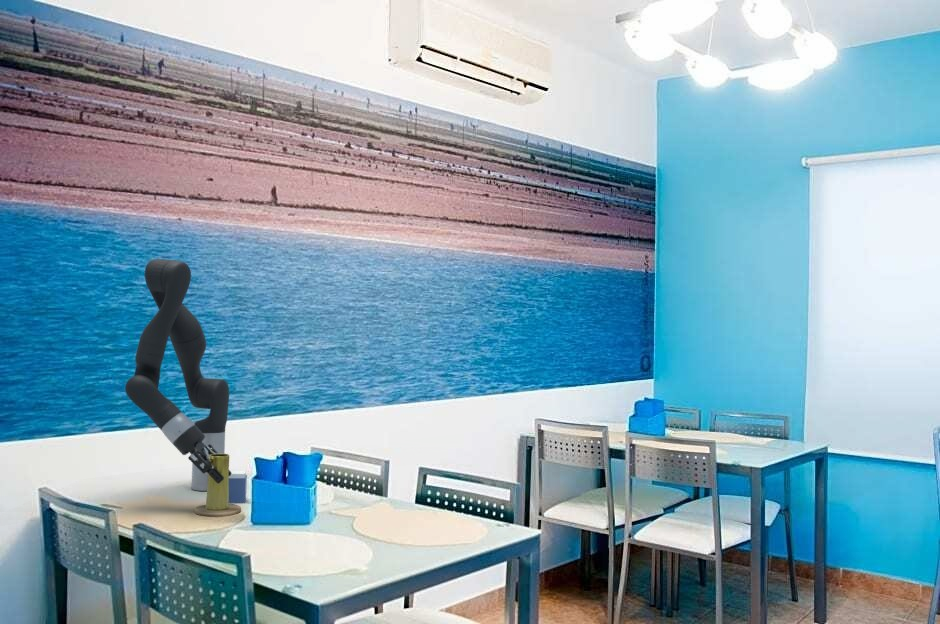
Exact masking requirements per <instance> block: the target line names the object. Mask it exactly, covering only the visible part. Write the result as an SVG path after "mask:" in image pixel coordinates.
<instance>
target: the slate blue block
mask: <svg viewBox="0 0 940 624" xmlns="http://www.w3.org/2000/svg"><path fill="white" fill-rule="evenodd" d="M230 471H231V473H232V474H231V475H230V476H229V504H245V503H246V501H247V489H248V488H247V485H248V483H247V482H248V480H247V479H248V475H247V471H245V470H230Z"/></svg>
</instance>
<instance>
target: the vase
mask: <svg viewBox="0 0 940 624" xmlns="http://www.w3.org/2000/svg"><path fill="white" fill-rule="evenodd" d="M209 456H210V457H211V459H212V464H213V465H214V467H215V468H216V469H217V470H218V471H219V472H220V473H221V474H222V475H223V477H224V480H222V481H221V482H220V483H219V484H218V483H216V481H215V480H214V479H213V478H212V477H211V476H210V475H209V474H208V488H207V491H206V498H205V499H206V501H205V505H206V509H208V510H224V509H228V508H229V504H230V503H229V470H230V454H228V453H224V454H222V453H217V454H210V455H209ZM215 468H214V469H215Z"/></svg>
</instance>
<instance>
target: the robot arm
mask: <svg viewBox="0 0 940 624" xmlns="http://www.w3.org/2000/svg"><path fill="white" fill-rule="evenodd" d="M191 271H192V270H191V268H190V266H189V264H187V263H186V262H185V261H181V260H173V259H172V260H171V259H165V258H154V259H151V260H149V261H148V262H147V263H146V265H145V269H144V279H145V284H146V287H147V288H148V290H149V293H150V295H151V296H152V299H153V300H154V302H155V305H156V306H157V309H158V310H157V312H156V314H155V315H154V316H153V317H152V319H151V320H150V321H149V322H148V324H146V326H145V327H144V329H143V331H142V333H141V334H140V338H139V341H138V344H137V349H136V354H135V358H134V361H135V370H134V375H133V376H132V377H130V378H128V379H127V381H126V383H125V385H124V386H125V387H124V391H125V394H126V396H127V398H129V400H131V402H132V403H133V404H134V405H135V406H136V407H138V408H139V409H140V410H141V411H142V412H143V413H145V414H146V415H147V416H148V417H149V419H150V420H151V421H152V422H153V423H154V424H155V425H156V427H158V429H160V430H161V432H162V434H163V435H164V436H165V437H166V439H167V440H168V441H169V442H170V443H171V444H172V445H173V446H174V447H175V449H177V450H178V452H179V453H181V455H182V456H186V455H188V454H190V455H189V456H188V460H189V461H190V462H191V463H192V467H191V470H192V471H191V487H190V488H191V490H193V491H201V492H207V488H208V474H209V475H210V476H211V477H212V478H213V479H214V480H215V481H216V483H218V484H219V483H220V482H221V481H222V480H224V477H223V475H222V474H221V473H220V472H219V471H218V470H217V469H216V468H215V467H214V465H213V464H212V459H211V457H210V456H209V455H210V454H217V453H222V454H225V447H226V444H225V443H226V426H227V422H228V414H229V413H228V412H229V403H230V402H229V401H230V387H229V384H228V382H227V381H226V380H225V379H221V378H207V377H206V378H205V377H204V375H202V374H203V373H202V372H201V367H200V365H201V361H202V359H203V357H204V354H205V352H206V350H207V349H206V348H207V339H206V337H205V333H204V331H203V327H202V325H201V323H200V322H199V320H198V319H197V317H196V316H195V315H194V314H193V313H192V312H191V311H190V310H189V308H187V307H186V305H184V304H183V303H184V300H185V297H186V294H187V293H188V290H189V287H190V284H191V280H192V272H191ZM168 340H170V342H171V345H172V347H173V350H174V353H175V356H176V358H177V360H178V363H179V367H180V369H181V373H182V375H183V381H184V384H185V389H186V393H187V396H188V399H189V401H190V403H191V405H192V406H193V407H194V408H196V409H201V410H202V409H205V410H209V413H208V416H206V417H205V418H203V419H200V420H196V421H195V422H193V421H192V420H191V418H189V417H188V416H187V415H185V414H184V413H183V412H182V411H181V409H180V408H178V406H177V405H176V404H175V403H174V402H173V401H171V399H169V398H167V397H166V396H164V394H163V393H162V392H161V390H159V386H160V385H159V384H160V380H161V379H160V377H161V368H162V363H163V361H164V357H165V351H166V348H167V344H168ZM214 468H215V469H214ZM231 471H232V470H230V469H229V476H230V475H231V474H232V473H231Z"/></svg>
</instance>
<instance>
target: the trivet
mask: <svg viewBox="0 0 940 624" xmlns="http://www.w3.org/2000/svg"><path fill="white" fill-rule="evenodd" d="M241 512H242V507H241V505H239V504H236V503H229V508H228V509H224V510H208V509H206V504H201V505H198V506H196V507H195V508H194V513H195V514H196V515H198V516H203V517H213V518H214V517H228V516H234V515H237V514H240V513H241Z"/></svg>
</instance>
